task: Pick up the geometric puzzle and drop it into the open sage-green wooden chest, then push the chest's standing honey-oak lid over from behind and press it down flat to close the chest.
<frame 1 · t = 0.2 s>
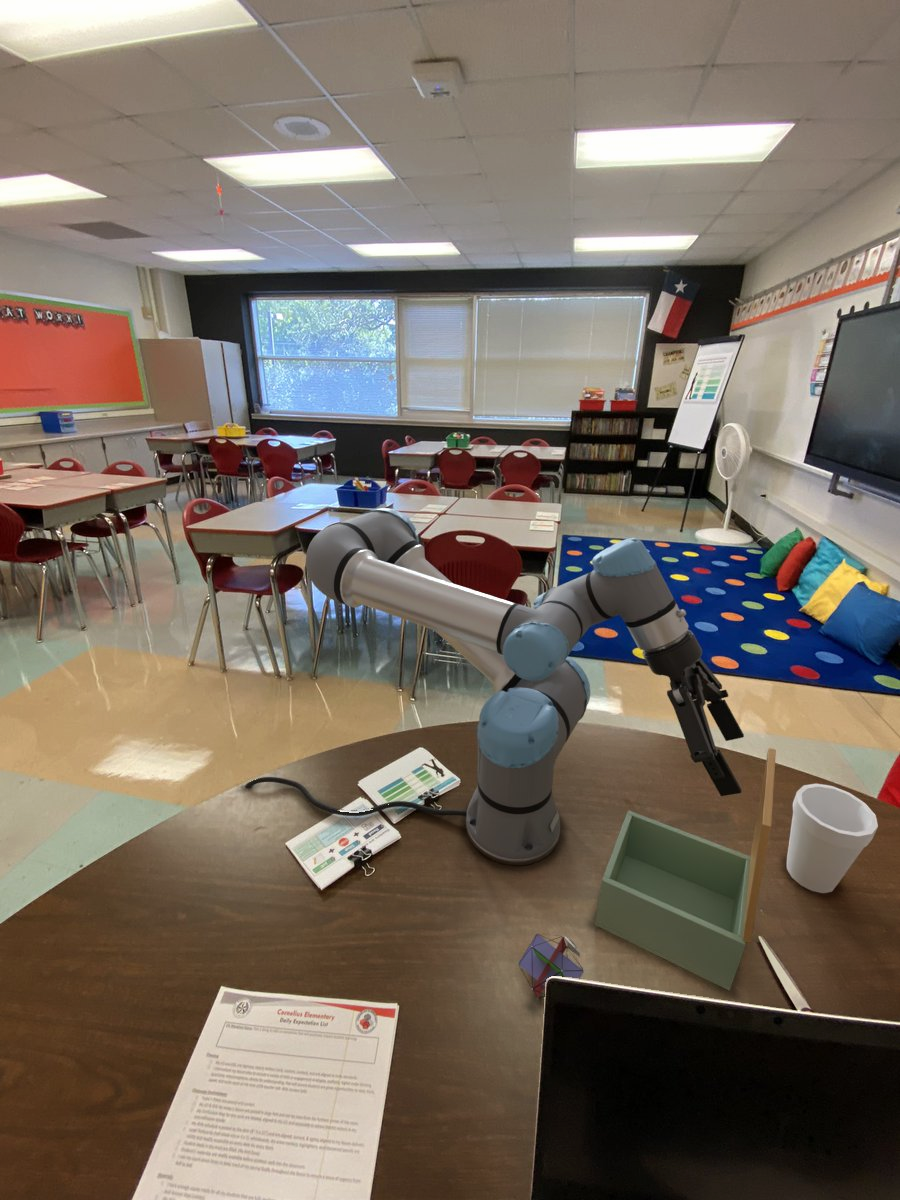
hand: (733, 763, 79), 16 cm above the table, tool tilted 35°, fingers open, 13 cm apart
geometric puzzle: (548, 984, 67), on the table
lid: (759, 842, 64), point 18 cm above the table, hinge at 85.0°
foam cup: (810, 874, 80), on the table
chest: (668, 913, 75), on the table
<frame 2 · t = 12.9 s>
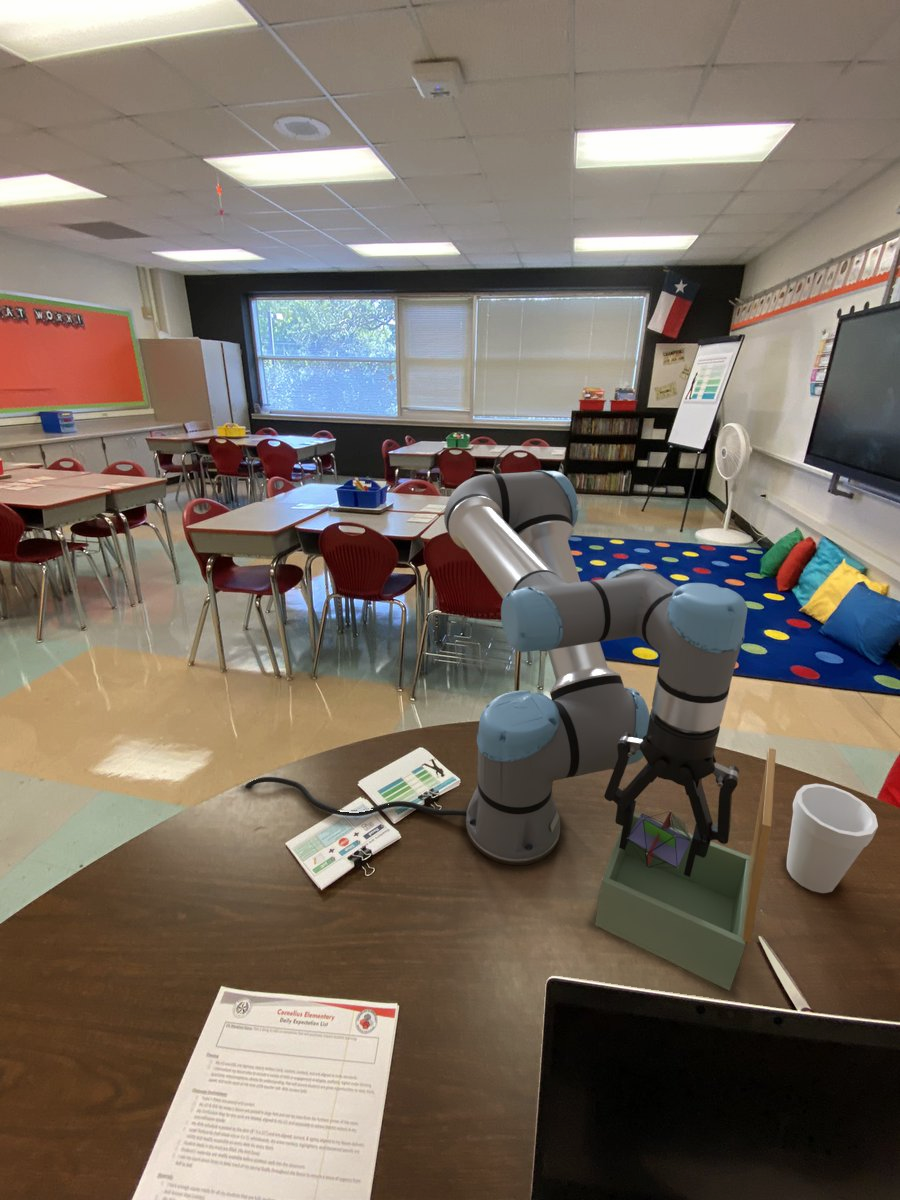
hand: (655, 854, 72), 9 cm above the table, tool pointing down, fingers closed on geometric puzzle, 7 cm apart
geometric puzzle: (654, 857, 72), point 9 cm above the table, touching gripper
everything else where it was.
when the fingers open (6 cm above the table, at t = 14.7 s): geometric puzzle stays where it is, point 5 cm above the table.
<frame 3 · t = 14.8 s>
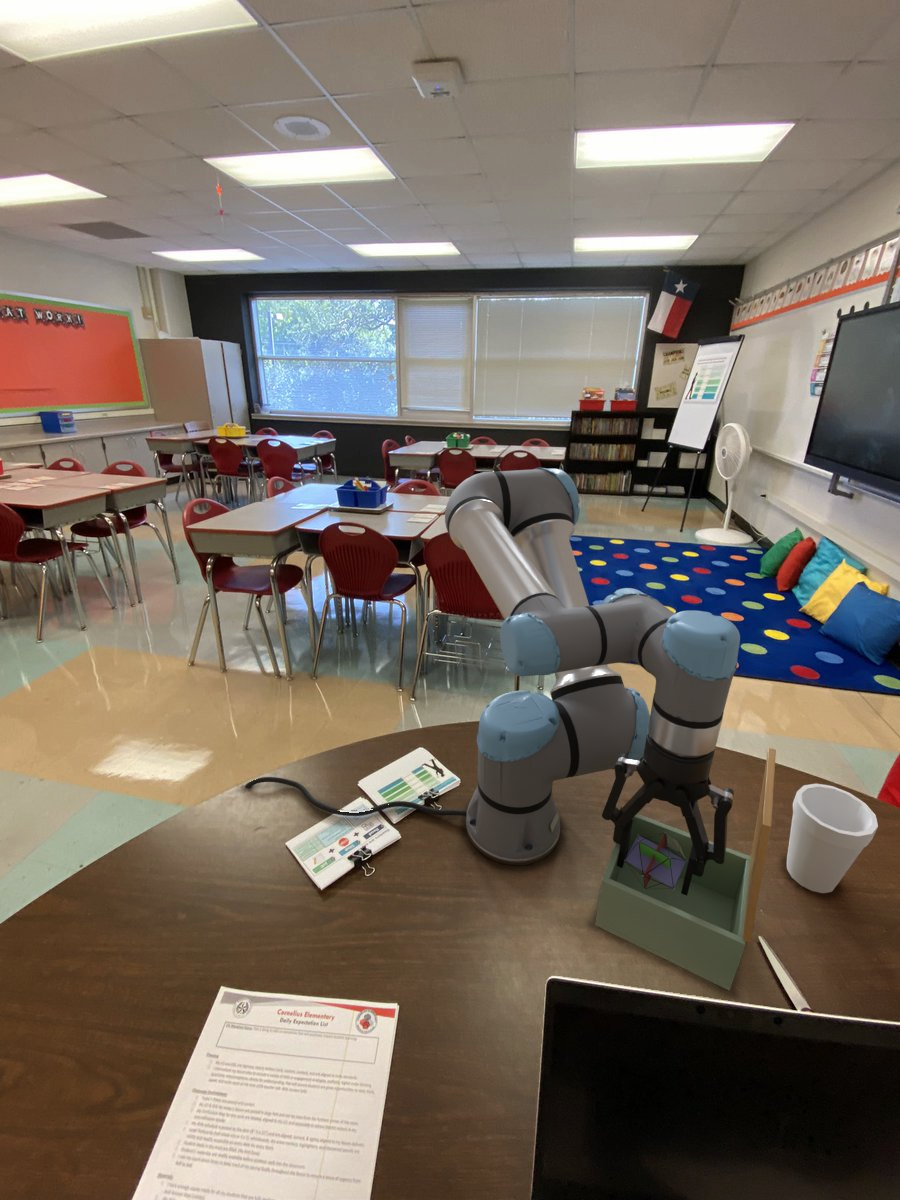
hand: (653, 872, 73), 6 cm above the table, tool pointing down, fingers open, 8 cm apart
geometric puzzle: (652, 878, 74), point 5 cm above the table
everything else where it was.
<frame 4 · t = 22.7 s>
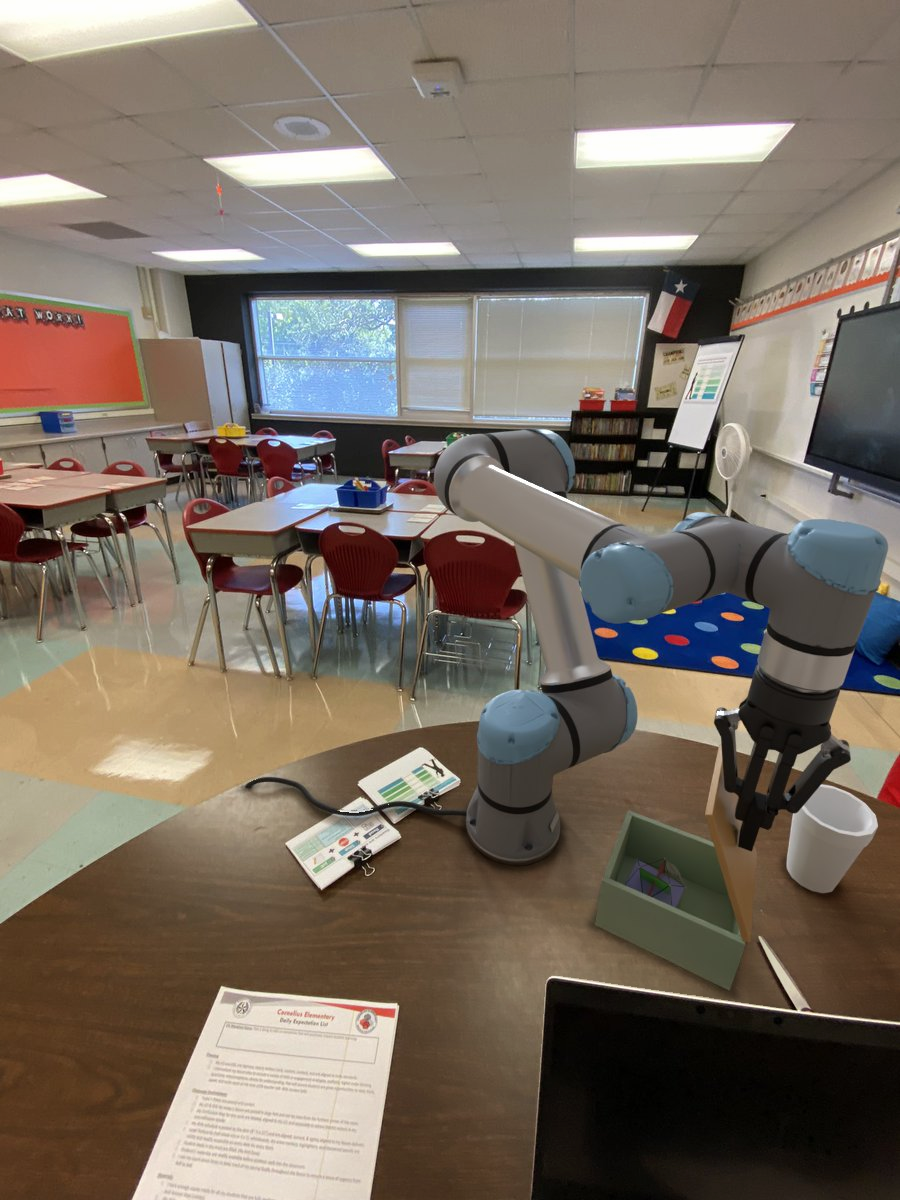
hand: (745, 840, 65), 17 cm above the table, tool pointing down, fingers closed
geometric puzzle: (651, 902, 75), point 1 cm above the table, touching chest
lid: (733, 837, 65), point 17 cm above the table, hinge at 67.0°
everything else where it was.
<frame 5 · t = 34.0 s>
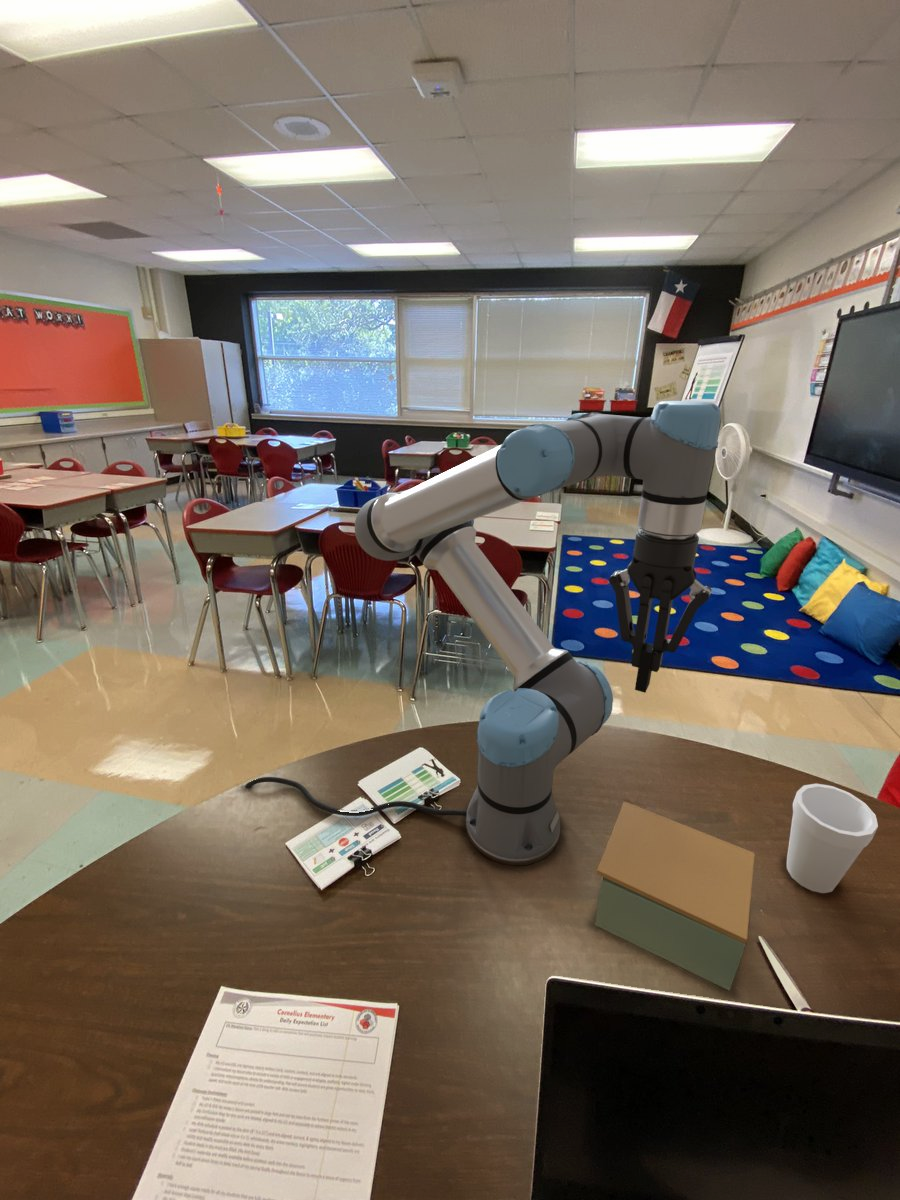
hand: (642, 686, 78), 26 cm above the table, tool pointing down, fingers closed
lid: (676, 863, 71), point 10 cm above the table, hinge at 1.8°
everything else where it was.
at the end: lid at +2° (first picture: +85°); geometric puzzle inside the target area in the chest (2.4 cm from its centre), point 0.6 cm above the chest's base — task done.
